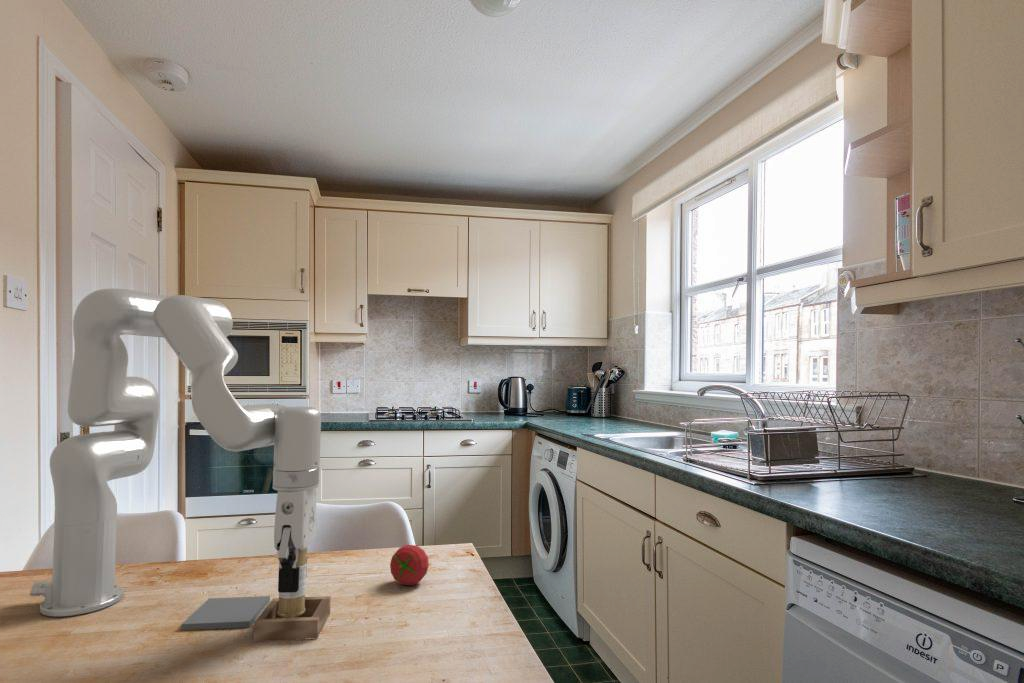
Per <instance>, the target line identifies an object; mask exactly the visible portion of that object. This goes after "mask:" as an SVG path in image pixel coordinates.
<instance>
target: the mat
mask: <svg viewBox="0 0 1024 683" xmlns="http://www.w3.org/2000/svg"><path fill="white" fill-rule="evenodd" d="M270 602H271V595H266V596H265V595H264V596H240V597H239V596H238V597H234V596H233V597H216V598H215V597H212V598H210V597H209V598H208V599H207V600H206V601H204V602H203V604H201V605H200V606H199V607H198V608H197V609H195V611H194V612H193V613H191V614H190V616H189V617H188V618H187V619H185V620H184V621H183V622H182V623H181V628H180V630H181V631H191V630H192V631H193V630H194V631H195V630H213V629H214V630H215V629H217V630H218V629H220V630H221V629H239V628H241V629H242V628H250V627H251V626H252V625H253V624H254V622H255V621H256V620H257V618H258V617H259V616H260V615H259V614H261V613H262V612H263V611H264V609H265V608H266V607H267V606H268V604H269V603H270ZM255 619H256V620H255Z"/></svg>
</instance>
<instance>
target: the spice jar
mask: <svg viewBox="0 0 1024 683" xmlns="http://www.w3.org/2000/svg"><path fill="white" fill-rule="evenodd" d="M280 543H281V541H280ZM290 548H295V546H294V545H290V547H289V549H290ZM289 555H292V557H293V555H294V553H289ZM307 555H308V546H307V547H306V548H305V549H304V550H300V549H299V553H298V565H297V567H299V589H298V591H297V592H287V593H280V592H278V598H279V607H278V612H277V614H278V616H279V617H281V618H298V617H297V616H300V615H302V614H303V613H304V612H305V597H306V593H307V592H306V590H307V588H306V587H307V578H306V570H307V571H308V561H307V562H306V559H307V560H308V556H307Z"/></svg>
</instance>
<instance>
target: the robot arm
mask: <svg viewBox="0 0 1024 683" xmlns="http://www.w3.org/2000/svg"><path fill="white" fill-rule="evenodd" d="M233 319H234V318H233V317H232V313H231V312H230V310H229V309H228V308H227V306H225V304H223V303H221V302H220V301H218V300H214V299H210V298H204V297H199V296H193V295H187V294H186V295H184V294H178V295H172V296H171V295H170V296H168V295H163V294H156V293H149V292H145V291H140V290H133V289H127V288H103V289H97V290H94V291H92V292H90V293H89V294H87V295H86V296H84V298H82V299H81V301H80V302H79V303H78V305H77V306H76V309H75V311H74V314H73V321H72V329H73V330H72V331H73V341H74V354H73V361H72V369H71V377H70V384H69V385H70V386H69V393H68V400H67V402H68V403H67V414H68V418H69V419H70V421H71V422H72V423H73V424H75V425H77V426H80V427H81V426H82V427H87V428H91V427H92V428H94V427H108V426H113V427H114V429H113V430H112V431H99V432H90V433H84V434H82V433H81V434H77V435H74V436H71V437H70V436H69V437H68V438H66V439H63V440H62V441H61V442H59V443H58V444H57V445H56V446H55V447H54V449H53V450H52V452H51V453H50V457H49V469H50V470H49V471H50V476H51V479H52V486H53V491H54V492H53V493H54V518H53V519H54V527H53V528H54V530H53V532H54V533H53V549H52V550H53V551H52V554H53V555H52V573H51V575H52V576H51V581H46V580H45V581H43V580H42V581H35V582H34V583H33V584H32V586H31V589H30V592H29V595H30V597H36V596H37V597H38V596H39V597H40V596H42V597H43V598H44V600H43V601H42V602H41V603H40V605H39V613H41V614H42V615H44V616H47V617H54V618H55V617H57V618H58V617H71V616H77V615H78V616H79V615H83V614H88V613H92V612H96V611H99V610H102V609H105V608H108V607H110V606H112V605H114V604H116V603H118V602H119V601H120V600H122V599H123V598H124V594H125V593H124V592H125V589H124V588H123V587H121V586H120V585H115V581H116V579H115V576H116V555H117V554H116V552H117V551H116V550H117V524H118V523H117V522H118V502H117V499H116V496H115V494H114V493H113V491H112V490H111V488H110V486H109V484H108V482H110V481H113V480H118V479H122V478H127V477H128V478H129V477H131V476H135V475H138V474H140V473H142V472H144V470H146V469H147V468H148V467H149V466H150V464H151V462H152V459H153V456H154V452H155V446H156V437H157V431H158V430H157V429H158V423H159V414H160V396H159V394H158V390H157V389H156V386H155V385H154V384H153V383H152V382H151V381H149V380H148V379H146V378H144V377H141V376H140V377H139V376H127V375H128V372H127V371H128V364H129V354H128V350H127V348H126V345H125V343H124V341H123V339H122V338H121V336H123V335H125V336H126V335H129V336H139V337H140V336H141V337H152V338H164V339H165V340H166V342H167V344H168V345H169V347H170V348H171V349H172V351H173V352H174V353H175V355H176V357H177V358H178V359H179V360H180V362H181V363H182V364H183V366H184V367H185V369H186V370H187V371H188V373H189V375H190V376H191V378H192V381H191V385H190V398H191V406H192V410H193V413H194V414H195V416H196V418H197V420H198V421H199V423H200V425H202V427H203V428H204V430H205V431H206V433H207V434H208V436H209V437H210V438H211V439H212V441H214V443H216V444H217V445H218V446H219V447H221V448H223V449H224V450H226V451H228V452H229V451H230V452H243V451H249V450H253V449H258V448H265V447H270V446H273V470H272V489H273V490H274V491H277V493H276V494H277V495H276V502H275V505H276V506H275V514H274V515H275V516H274V529H273V531H274V532H273V535H274V536H273V545H274V549H275V550H276V551H278V554H277V555H278V556H277V558H278V577H277V578H278V579H277V580H278V582H277V584H278V585H277V591H278V593H279V592H280V593H287V592H297V591H298V589H299V567H297V565H298V553H299V549H300V550H304V549H305V548H306V547H307V548H308V546H309V545H310V544H311V543H312V541H313V540H314V539H315V537H316V535H317V493H316V492H317V490H316V489H317V488H319V486H320V463H321V460H320V459H321V431H322V430H321V429H322V415H321V412H320V409H318V408H316V407H314V406H313V407H311V406H286V405H285V406H284V405H281V404H276V403H275V404H273V403H264V404H263V403H261V404H249V405H247V404H246V405H241V404H240V403H239V402H238V400H237V399H236V398H235V396H234V395H233V393H231V391H230V389H229V387H228V386H227V383H226V382H225V378H224V377H225V375H227V374H228V373H229V372H230V371H231V370H232V369H234V367H235V366H236V365H237V362H238V360H239V354H238V351H237V349H236V348H235V347H234V346H233V344H232V343H231V342H230V340H229V339H228V337H229V336H230V334H231V333H232V330H233V325H234V320H233ZM280 541H281V543H280ZM290 545H294V546H295V548H290V549H289V547H290ZM289 553H294V555H293V557H292V555H289ZM306 562H307V563H308V558H307V559H306ZM307 573H308V569H307V570H306V579H307V577H308V576H307Z"/></svg>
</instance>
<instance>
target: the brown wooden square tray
mask: <svg viewBox="0 0 1024 683" xmlns="http://www.w3.org/2000/svg"><path fill="white" fill-rule="evenodd" d="M331 602H332V601H331V595H327V596H323V595H322V596H305V612H304V613H303V614H302V615H300V616H297V617H294V618H281V617H279V616H278V614H277V612H278V607H279V597H273V598H272V599H270V602H269V603H268V604H267V606H266V607H265V608H264V609H263V611H262V612H261V613H260V615H259V616H258V617H257V618H256V620H255V621H254V622H253V642H254V643H256V642H275V641H276V642H278V641H277V640H279V641H292V640H291V639H301V640H309V639H308V638H317V639H319V636H320V635H321V633H320V632H322V630H323V629H324V627H325V625H326V622H327V621H328V619H329V616H330V615H331ZM306 616H307V617H306ZM308 616H312V617H308ZM319 634H320V635H319ZM306 638H307V639H306ZM289 639H290V640H289ZM255 641H256V642H255Z"/></svg>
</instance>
